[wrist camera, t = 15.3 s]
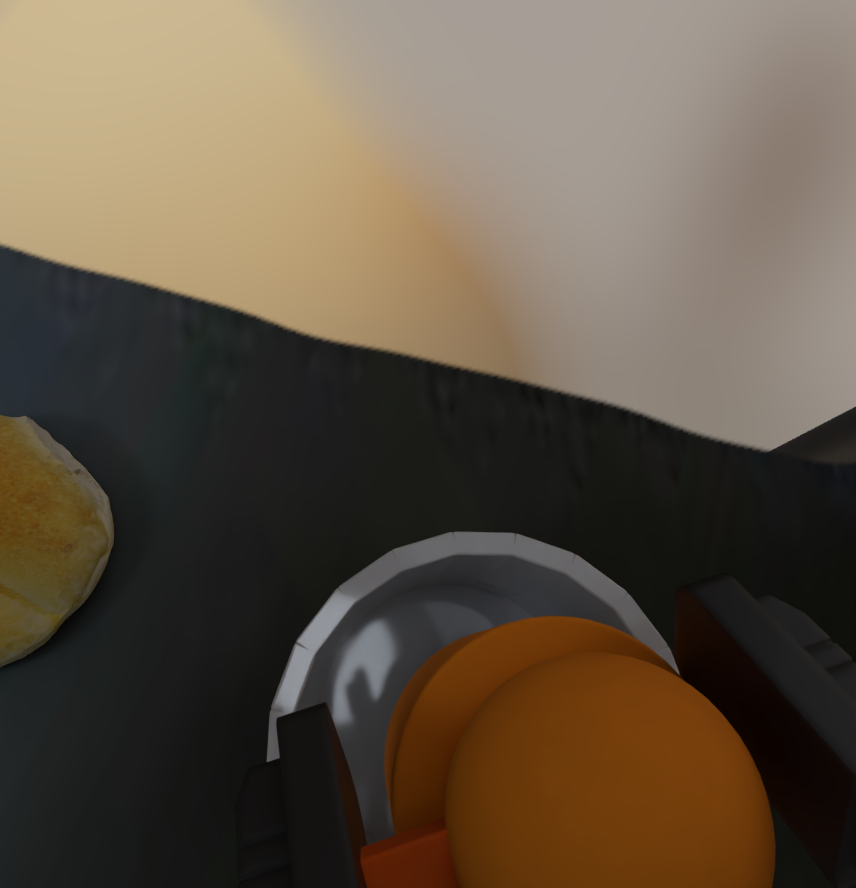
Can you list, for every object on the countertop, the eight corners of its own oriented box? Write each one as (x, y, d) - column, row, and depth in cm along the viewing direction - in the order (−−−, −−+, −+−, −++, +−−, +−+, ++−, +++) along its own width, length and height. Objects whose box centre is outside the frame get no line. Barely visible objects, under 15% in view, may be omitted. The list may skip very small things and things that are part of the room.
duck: (581, 599, 17) (780, 535, 9) (669, 847, 15) (1001, 1041, 7) (331, 678, 16) (297, 690, 8) (402, 950, 14) (448, 1299, 6)
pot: (537, 536, 28) (608, 483, 19) (636, 819, 26) (767, 902, 17) (271, 618, 27) (220, 600, 18) (349, 926, 24) (333, 1076, 16)
